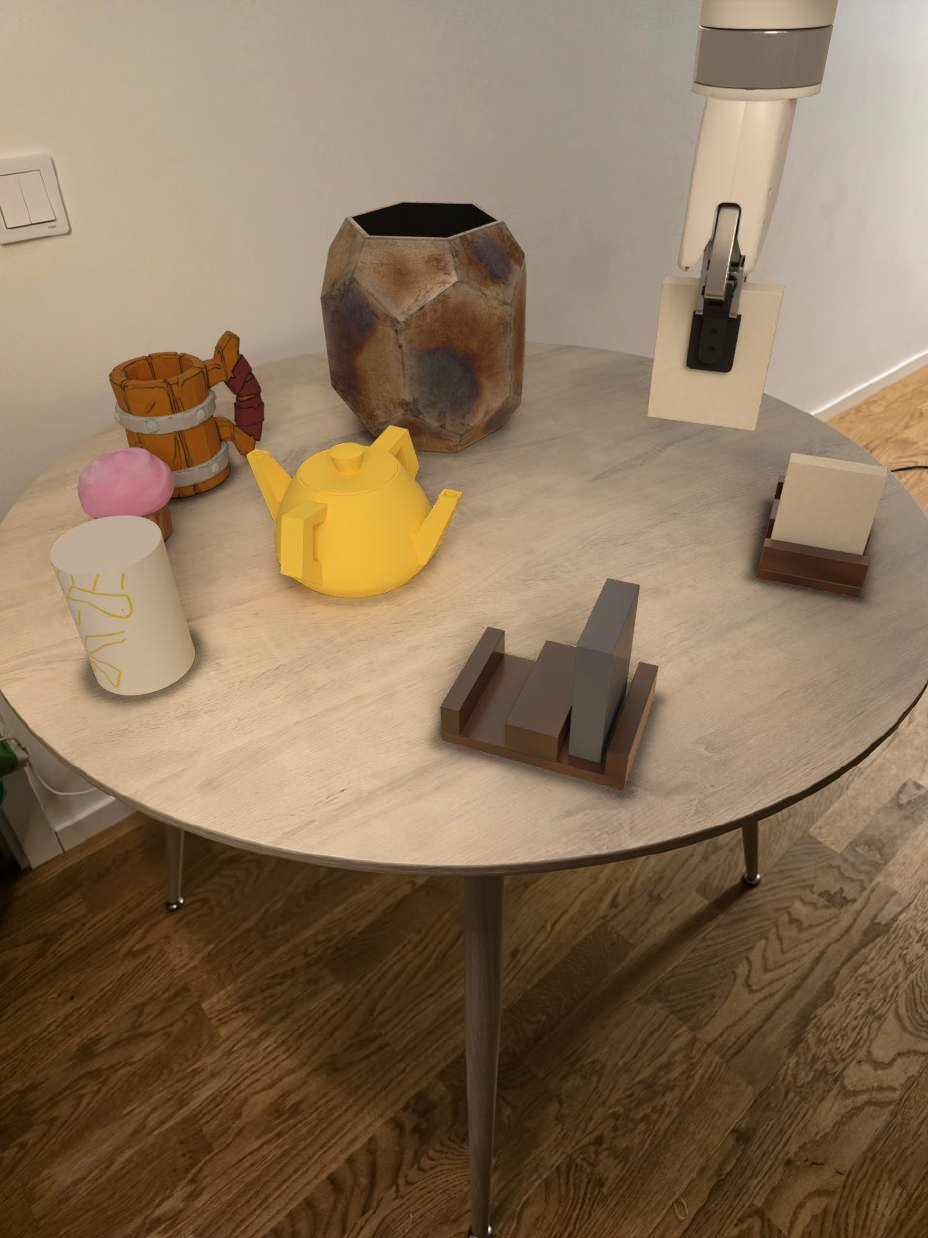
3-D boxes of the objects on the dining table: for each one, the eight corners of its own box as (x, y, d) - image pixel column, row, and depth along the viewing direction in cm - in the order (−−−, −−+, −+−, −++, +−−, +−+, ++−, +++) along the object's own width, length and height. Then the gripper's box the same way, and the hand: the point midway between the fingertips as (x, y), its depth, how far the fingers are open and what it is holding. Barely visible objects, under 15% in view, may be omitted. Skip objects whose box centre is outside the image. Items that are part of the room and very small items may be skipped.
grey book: (626, 691, 68) (640, 584, 61) (600, 763, 62) (612, 653, 55) (596, 684, 68) (607, 577, 62) (567, 754, 62) (576, 645, 56)
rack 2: (864, 519, 88) (873, 489, 86) (858, 597, 78) (869, 565, 76) (772, 504, 91) (779, 474, 89) (756, 577, 81) (763, 546, 79)
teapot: (416, 501, 93) (409, 396, 85) (470, 587, 80) (468, 473, 73) (260, 533, 88) (238, 426, 81) (292, 629, 76) (270, 513, 69)
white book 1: (651, 407, 67) (667, 274, 61) (757, 421, 65) (784, 285, 59) (646, 416, 66) (662, 282, 60) (754, 431, 64) (782, 293, 57)
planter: (559, 443, 102) (569, 231, 88) (359, 481, 96) (335, 260, 82) (493, 374, 119) (492, 186, 104) (319, 403, 113) (292, 207, 98)
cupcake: (199, 521, 91) (177, 434, 84) (172, 569, 84) (146, 478, 78) (116, 519, 91) (89, 433, 85) (83, 567, 84) (50, 477, 78)
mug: (122, 469, 100) (83, 342, 91) (258, 435, 106) (235, 312, 97) (144, 511, 92) (105, 377, 83) (289, 471, 99) (267, 342, 89)
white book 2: (857, 562, 80) (888, 466, 74) (856, 572, 79) (887, 476, 73) (768, 546, 83) (791, 452, 77) (766, 556, 82) (789, 461, 75)
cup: (74, 673, 72) (26, 554, 65) (149, 621, 77) (112, 505, 70) (142, 708, 69) (99, 586, 61) (215, 651, 74) (183, 532, 67)
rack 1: (653, 698, 68) (658, 665, 66) (623, 790, 61) (628, 757, 59) (487, 658, 73) (487, 626, 70) (441, 740, 65) (439, 706, 63)
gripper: (713, 47, 58) (678, 320, 70) (672, 78, 47) (637, 399, 58) (831, 49, 56) (774, 330, 67) (818, 81, 44) (752, 414, 56)
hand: (711, 360), depth 63 cm, fingers closed on white book 1, 1 cm apart
